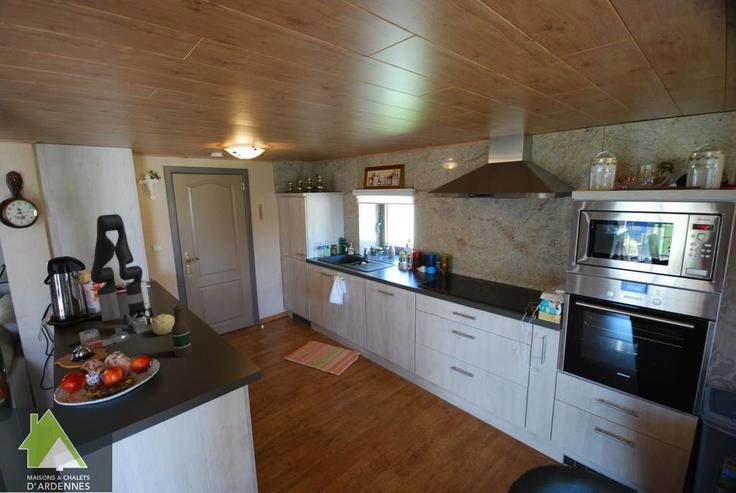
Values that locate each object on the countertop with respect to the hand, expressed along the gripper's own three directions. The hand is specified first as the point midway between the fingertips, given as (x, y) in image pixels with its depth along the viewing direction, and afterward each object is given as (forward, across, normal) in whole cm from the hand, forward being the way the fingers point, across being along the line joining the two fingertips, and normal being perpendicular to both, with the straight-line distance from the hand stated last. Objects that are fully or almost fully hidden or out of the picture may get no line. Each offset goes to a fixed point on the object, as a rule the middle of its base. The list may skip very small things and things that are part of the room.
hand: (140, 327), depth 191 cm
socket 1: (+2, +22, -3) cm, 22 cm away
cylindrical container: (+2, -6, -12) cm, 14 cm away
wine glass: (+2, +18, +5) cm, 19 cm away
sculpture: (+2, -8, +15) cm, 17 cm away
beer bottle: (+3, -4, +50) cm, 50 cm away
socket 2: (+2, 0, 0) cm, 2 cm away
